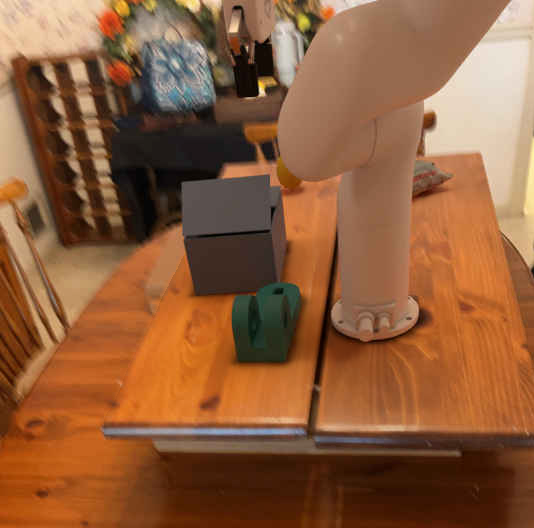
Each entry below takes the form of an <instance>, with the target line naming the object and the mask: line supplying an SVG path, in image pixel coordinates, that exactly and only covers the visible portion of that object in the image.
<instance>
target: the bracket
mask: <svg viewBox="0 0 534 528" xmlns="http://www.w3.org/2000/svg"><path fill="white" fill-rule="evenodd" d="M301 297H302V296H301V289H300V287H299V286H298V285H296V284H294V283H292V282H288V281H287V282H286V281H280V282H277V283H272V284H268V285H266V286H264V287H262V288H261V289H259V290H258V291H257V292H256V294H236V295H235V296H234V298H233V301H232V306H231V318H230V319H231V330H232V331H231V332H232V337H233V342H234V347H235V353H236V358H237V359H236V360H237V362H272V363H275V362H276V363H277V362H278V363H279V362H280V363H281V362H283V363H285V362H286V359H287V356H288V352H289V350H290V345H291V342H292V339H293V335H294V331H295V329H296V326H297V322H298V318H299V315H300V311H301V307H302V298H301Z"/></svg>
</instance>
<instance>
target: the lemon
mask: <svg viewBox="0 0 534 528" xmlns="http://www.w3.org/2000/svg"><path fill="white" fill-rule="evenodd" d="M275 170H276V177H277V180H278V182H279V185H280V186H282V187H283V188H285V189H288V190H289V191H290V192H293V191H295V189H296V188H298V187H299V186H300V185H301V184H302V182H303V180H301V179H299V178H297V177H296V176H294V175H293V174H292V173H291V172H290V171H289V170H288V169H287V167H286V166H285V164H284V162H283V160H282V158H281V155H279V157H278V159H277V162H276V169H275Z"/></svg>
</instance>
